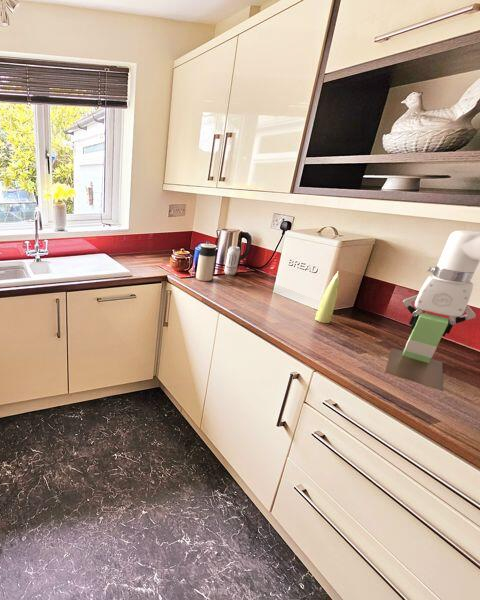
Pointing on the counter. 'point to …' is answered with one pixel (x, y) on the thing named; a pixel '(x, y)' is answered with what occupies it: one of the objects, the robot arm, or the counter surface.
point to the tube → (328, 301)
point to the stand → (415, 369)
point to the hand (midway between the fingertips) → (427, 330)
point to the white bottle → (232, 260)
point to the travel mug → (206, 262)
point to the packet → (425, 337)
